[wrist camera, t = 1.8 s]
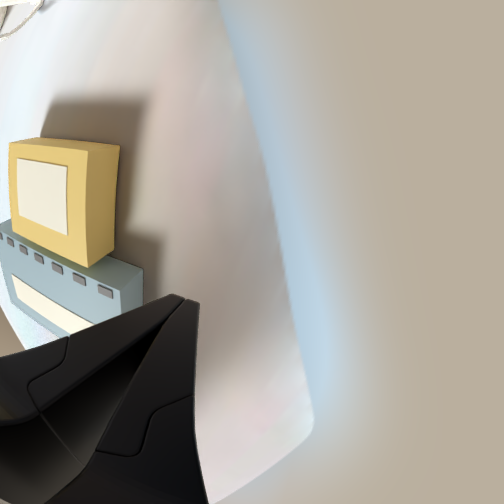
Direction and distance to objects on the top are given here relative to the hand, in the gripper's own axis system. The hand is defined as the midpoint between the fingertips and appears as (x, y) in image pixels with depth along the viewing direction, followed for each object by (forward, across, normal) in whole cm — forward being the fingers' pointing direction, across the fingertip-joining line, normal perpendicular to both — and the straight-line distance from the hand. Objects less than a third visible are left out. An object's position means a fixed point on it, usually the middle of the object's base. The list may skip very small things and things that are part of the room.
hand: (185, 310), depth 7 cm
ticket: (+6, +12, +7) cm, 15 cm away
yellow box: (+6, +11, 0) cm, 13 cm away
